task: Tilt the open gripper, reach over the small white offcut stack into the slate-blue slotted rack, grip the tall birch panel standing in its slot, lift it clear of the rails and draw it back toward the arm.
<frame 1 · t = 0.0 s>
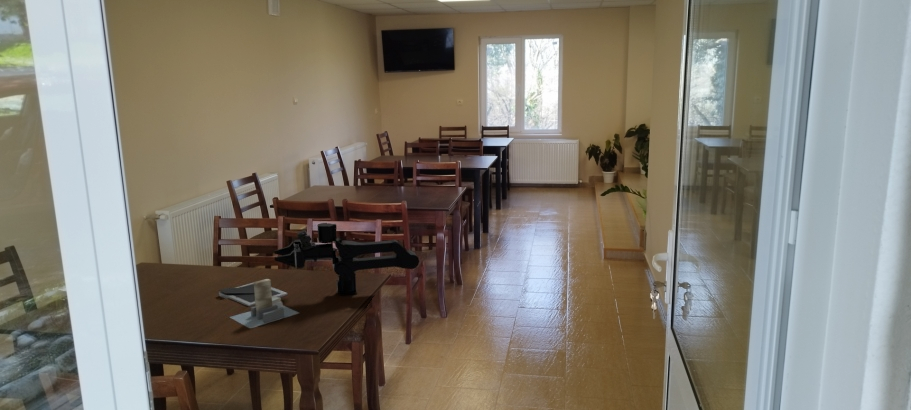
hand: (274, 255, 217), 17 cm above the table, tool horizontal, fingers open, 9 cm apart
slot rack: (264, 317, 203), on the table
birch panel: (264, 315, 203), point 1 cm above the table, touching slot rack
offcut stack: (273, 306, 210), point 1 cm above the table, touching slot rack
picture frame: (253, 298, 224), on the table
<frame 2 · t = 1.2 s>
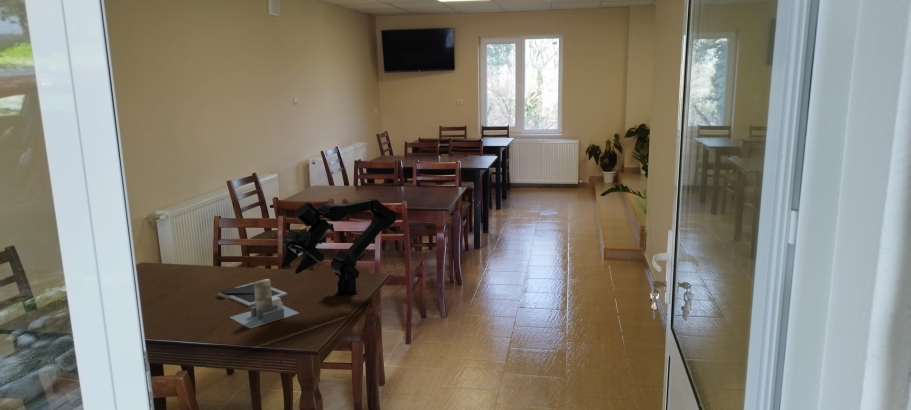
hand: (288, 270, 208), 14 cm above the table, tool tilted 45°, fingers open, 9 cm apart
nothing on the table moved.
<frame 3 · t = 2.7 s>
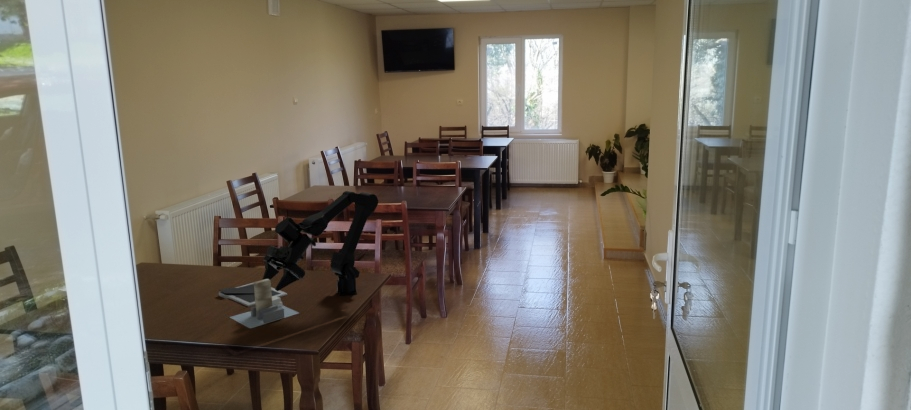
hand: (269, 287, 203), 10 cm above the table, tool tilted 45°, fingers open, 9 cm apart
nothing on the table moved.
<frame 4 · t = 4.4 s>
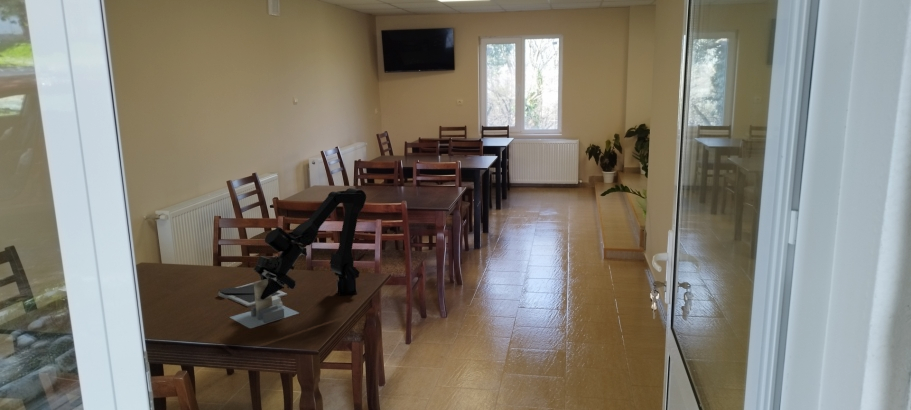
hand: (259, 298, 201), 7 cm above the table, tool tilted 45°, fingers closed on birch panel, 2 cm apart
birch panel: (264, 315, 203), point 1 cm above the table, touching gripper, slot rack
everything else where it was.
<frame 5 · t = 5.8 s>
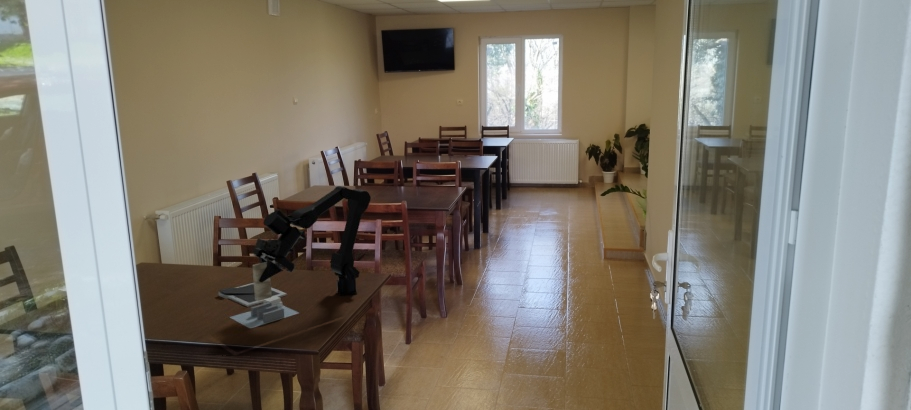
hand: (258, 281, 199), 13 cm above the table, tool tilted 45°, fingers closed on birch panel
birch panel: (263, 298, 202), point 7 cm above the table, touching gripper
everything else where it was.
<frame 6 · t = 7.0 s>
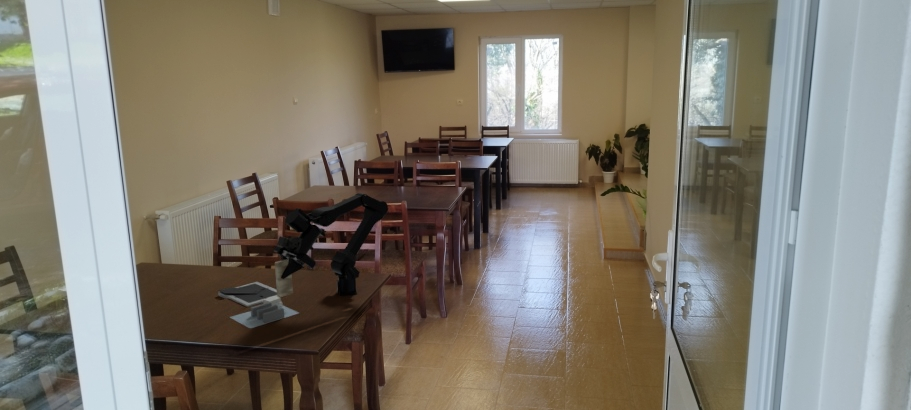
hand: (280, 277, 205), 12 cm above the table, tool tilted 45°, fingers closed on birch panel
birch panel: (285, 294, 208), point 6 cm above the table, touching gripper
everything else where it was.
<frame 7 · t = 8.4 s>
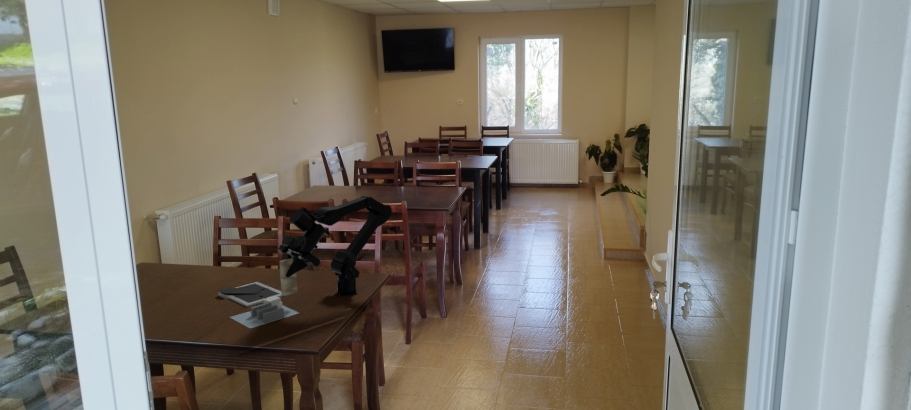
hand: (284, 276, 207), 13 cm above the table, tool tilted 45°, fingers closed on birch panel
birch panel: (289, 293, 209), point 6 cm above the table, touching gripper
everything else where it was.
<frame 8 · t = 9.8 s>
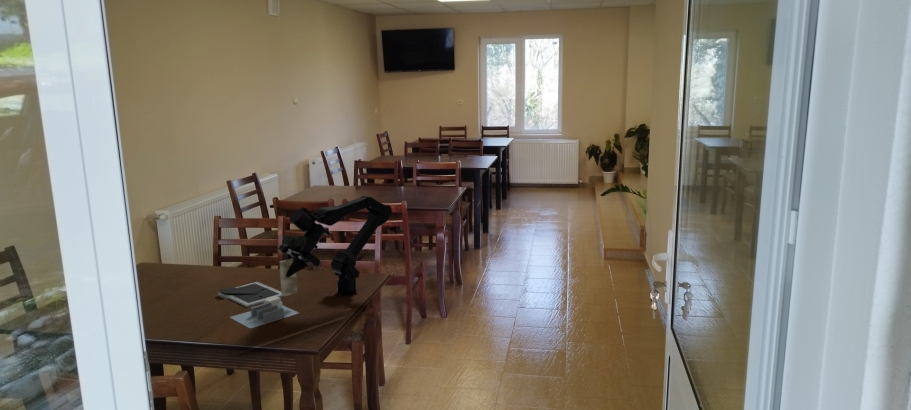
hand: (284, 276, 207), 13 cm above the table, tool tilted 45°, fingers closed on birch panel
birch panel: (289, 293, 209), point 6 cm above the table, touching gripper
everything else where it was.
at the end: birch panel point 5.7 cm above the table; birch panel moved 11.0 cm from its start; offcut stack moved 0.0 cm from its start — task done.
